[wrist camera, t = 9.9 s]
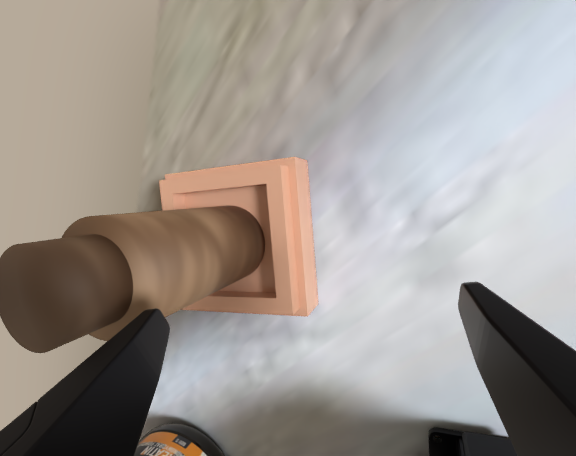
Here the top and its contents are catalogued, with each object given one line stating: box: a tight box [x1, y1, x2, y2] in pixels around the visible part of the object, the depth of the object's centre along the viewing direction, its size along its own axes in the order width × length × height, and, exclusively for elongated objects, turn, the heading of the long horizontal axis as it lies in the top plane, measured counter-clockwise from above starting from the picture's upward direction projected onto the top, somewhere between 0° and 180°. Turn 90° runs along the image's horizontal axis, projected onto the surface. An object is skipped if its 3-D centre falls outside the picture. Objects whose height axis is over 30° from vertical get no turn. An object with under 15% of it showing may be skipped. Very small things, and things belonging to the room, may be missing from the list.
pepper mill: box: [0, 206, 265, 353], centre depth 16 cm, size 5×5×12 cm
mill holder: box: [159, 157, 318, 316], centre depth 23 cm, size 10×10×4 cm
